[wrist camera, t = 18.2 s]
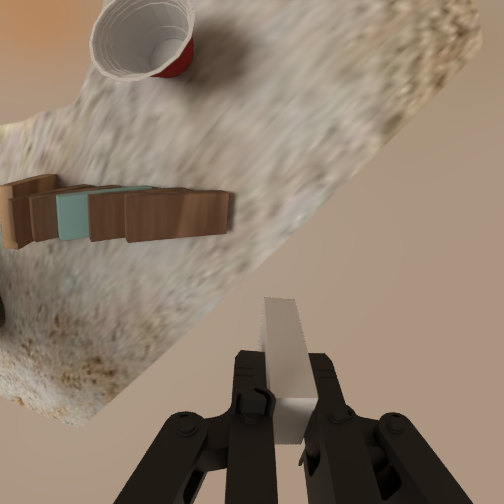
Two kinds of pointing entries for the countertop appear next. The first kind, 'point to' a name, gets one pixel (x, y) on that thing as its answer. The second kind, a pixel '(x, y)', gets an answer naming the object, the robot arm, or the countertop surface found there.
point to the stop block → (17, 190)
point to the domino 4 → (111, 213)
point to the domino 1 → (27, 213)
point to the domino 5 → (175, 214)
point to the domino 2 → (50, 213)
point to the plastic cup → (143, 39)
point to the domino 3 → (79, 212)
